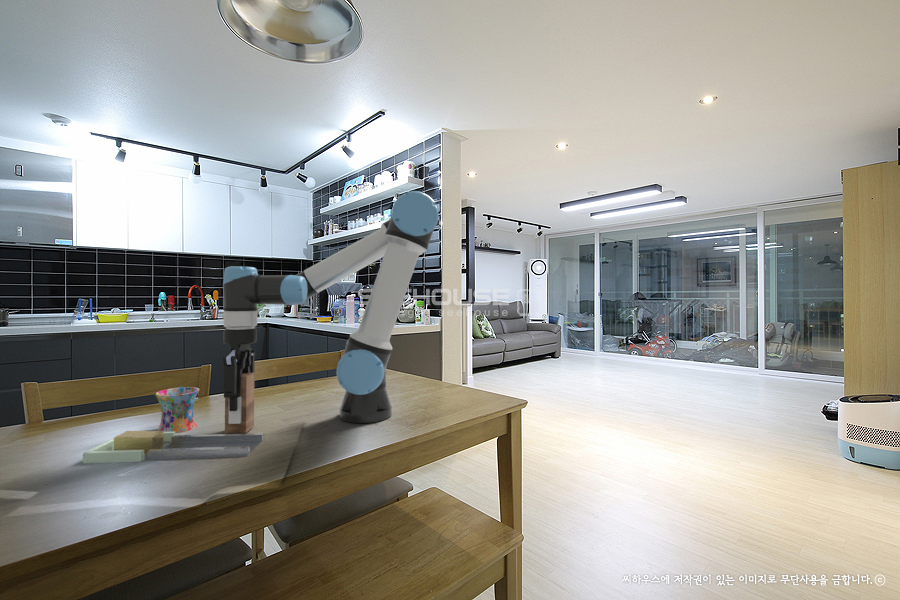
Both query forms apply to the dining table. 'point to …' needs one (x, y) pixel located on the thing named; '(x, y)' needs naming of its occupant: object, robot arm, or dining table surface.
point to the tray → (117, 452)
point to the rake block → (243, 406)
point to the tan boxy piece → (148, 441)
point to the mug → (177, 409)
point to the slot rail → (208, 446)
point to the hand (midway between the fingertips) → (239, 419)
